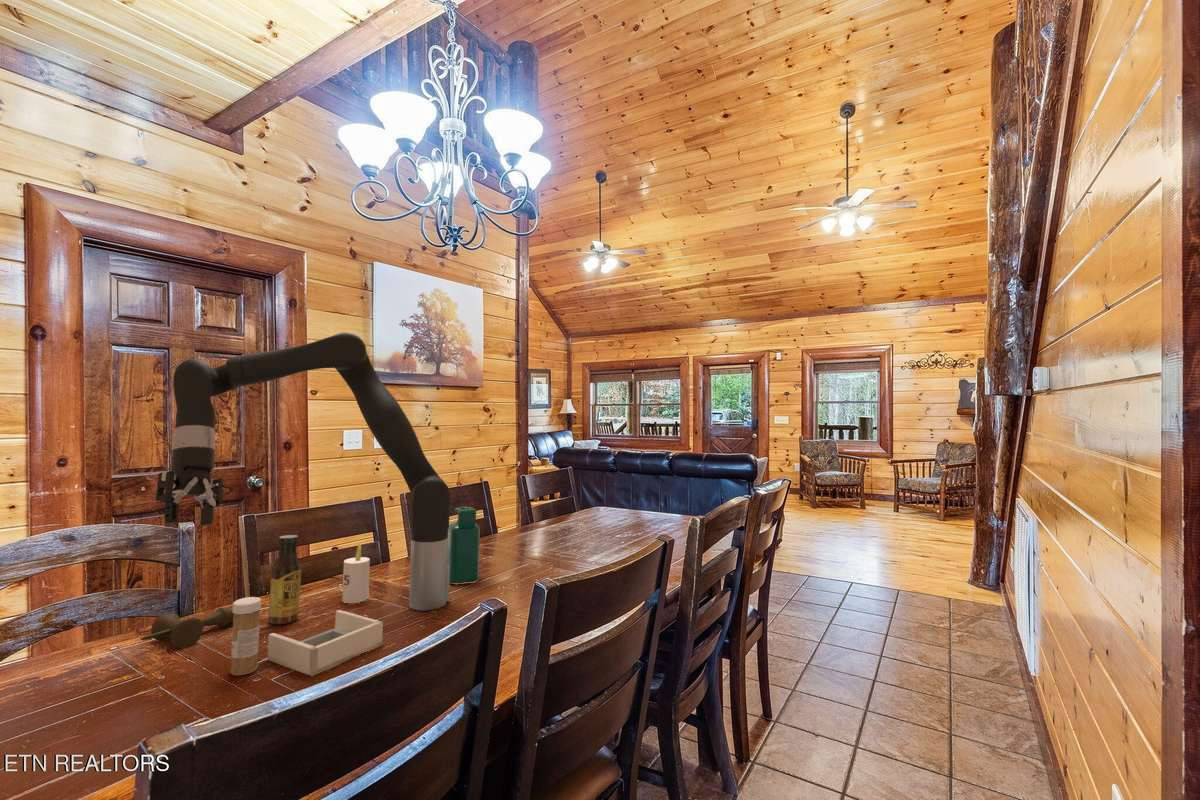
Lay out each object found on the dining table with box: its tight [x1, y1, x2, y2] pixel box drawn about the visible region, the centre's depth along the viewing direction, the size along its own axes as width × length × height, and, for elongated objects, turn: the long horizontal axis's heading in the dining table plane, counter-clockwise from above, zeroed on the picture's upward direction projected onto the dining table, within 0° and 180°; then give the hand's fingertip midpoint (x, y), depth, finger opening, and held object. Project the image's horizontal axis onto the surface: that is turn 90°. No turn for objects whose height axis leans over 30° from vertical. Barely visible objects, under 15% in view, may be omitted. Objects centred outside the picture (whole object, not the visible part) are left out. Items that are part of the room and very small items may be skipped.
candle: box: [342, 542, 371, 604], centre depth 143 cm, size 6×6×15 cm
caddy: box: [267, 609, 384, 677], centre depth 112 cm, size 16×14×5 cm
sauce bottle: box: [268, 534, 302, 626], centre depth 128 cm, size 6×6×20 cm
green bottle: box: [447, 506, 481, 584], centre depth 161 cm, size 10×8×22 cm
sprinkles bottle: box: [229, 596, 262, 677], centre depth 103 cm, size 5×5×13 cm
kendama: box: [140, 605, 234, 649], centre depth 119 cm, size 6×10×20 cm
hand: (189, 524), depth 114 cm, fingers open, 8 cm apart
